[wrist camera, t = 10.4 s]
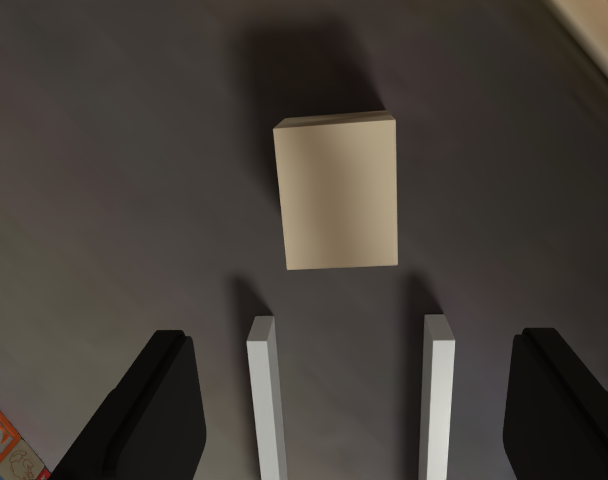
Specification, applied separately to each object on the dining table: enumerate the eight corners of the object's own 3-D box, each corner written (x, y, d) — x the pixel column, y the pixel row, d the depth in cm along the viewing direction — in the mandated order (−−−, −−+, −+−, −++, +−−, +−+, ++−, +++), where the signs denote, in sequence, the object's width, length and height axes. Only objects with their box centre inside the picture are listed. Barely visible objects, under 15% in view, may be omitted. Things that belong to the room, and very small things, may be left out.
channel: (444, 314, 29) (455, 340, 26) (433, 506, 35) (441, 545, 32) (255, 316, 30) (246, 341, 28) (273, 502, 36) (267, 539, 33)
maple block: (385, 110, 26) (395, 119, 21) (388, 231, 28) (397, 265, 23) (285, 117, 26) (273, 128, 21) (296, 236, 28) (287, 269, 24)
